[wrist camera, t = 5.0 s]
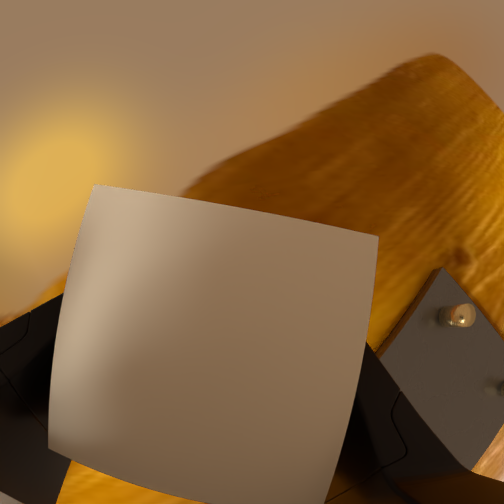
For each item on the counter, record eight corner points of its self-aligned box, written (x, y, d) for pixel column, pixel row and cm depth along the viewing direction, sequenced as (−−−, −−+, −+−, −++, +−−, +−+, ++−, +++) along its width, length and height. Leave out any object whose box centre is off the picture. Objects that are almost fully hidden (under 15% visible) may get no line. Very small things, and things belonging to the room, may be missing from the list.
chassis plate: (420, 513, 13) (441, 532, 10) (301, 435, 14) (313, 457, 12) (520, 376, 15) (547, 379, 12) (433, 269, 17) (463, 260, 14)
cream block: (268, 390, 15) (319, 513, 4) (170, 370, 15) (48, 448, 4) (287, 293, 16) (378, 236, 5) (189, 274, 16) (94, 184, 5)
